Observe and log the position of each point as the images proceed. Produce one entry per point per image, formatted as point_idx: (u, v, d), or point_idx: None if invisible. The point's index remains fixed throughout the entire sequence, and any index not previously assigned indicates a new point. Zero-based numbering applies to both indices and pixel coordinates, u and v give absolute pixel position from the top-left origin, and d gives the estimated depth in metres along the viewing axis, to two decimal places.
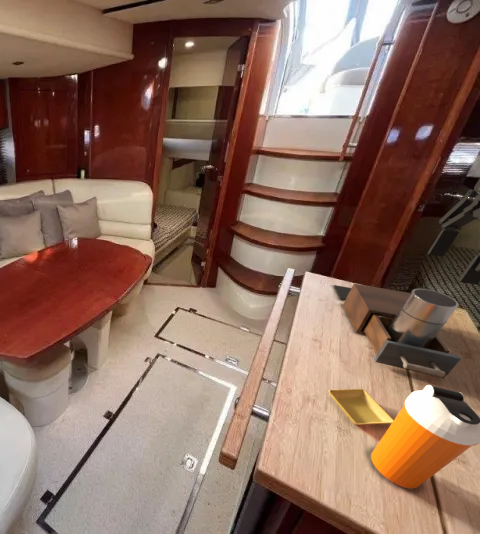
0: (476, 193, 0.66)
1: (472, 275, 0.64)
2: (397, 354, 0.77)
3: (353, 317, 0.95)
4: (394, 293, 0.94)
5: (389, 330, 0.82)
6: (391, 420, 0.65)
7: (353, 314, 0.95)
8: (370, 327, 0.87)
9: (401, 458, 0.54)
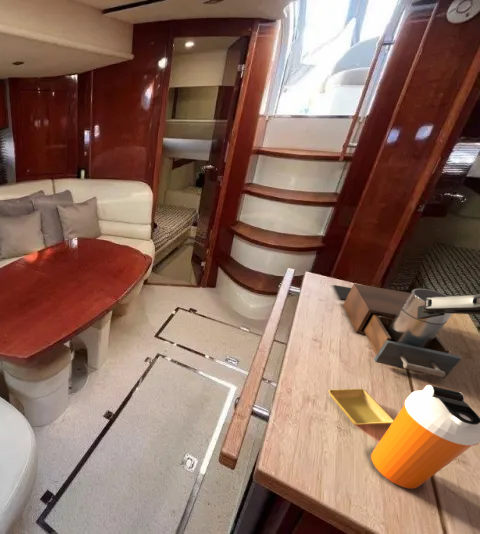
0: None
1: None
2: (397, 354, 0.77)
3: (353, 317, 0.95)
4: (394, 293, 0.94)
5: (389, 330, 0.82)
6: (391, 420, 0.65)
7: (353, 314, 0.95)
8: (370, 327, 0.87)
9: (401, 458, 0.54)
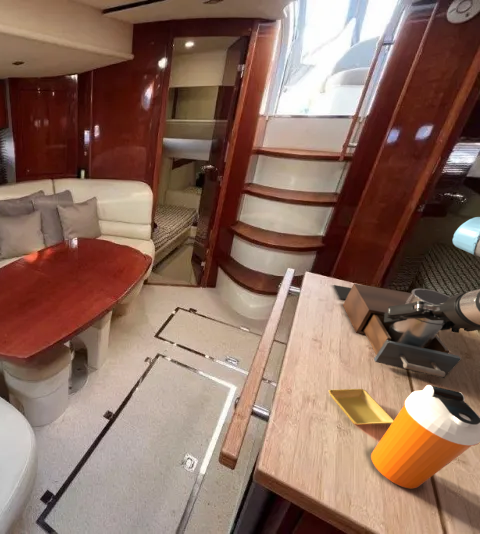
0: (425, 309, 0.69)
1: None
2: (397, 354, 0.77)
3: (353, 317, 0.95)
4: (394, 293, 0.94)
5: (389, 330, 0.82)
6: (391, 420, 0.65)
7: (353, 314, 0.95)
8: (370, 327, 0.87)
9: (401, 458, 0.54)
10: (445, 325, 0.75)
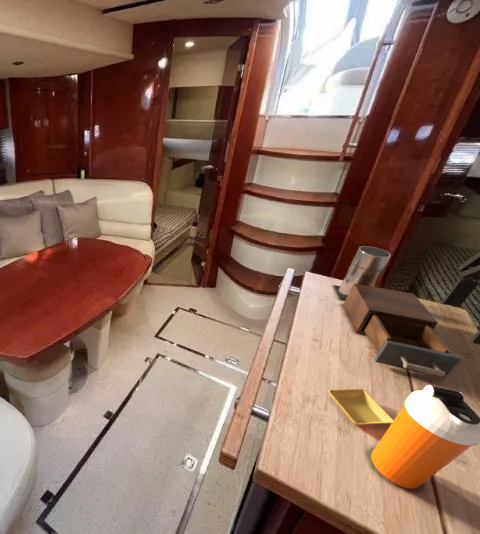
0: None
1: None
2: (397, 354, 0.77)
3: (353, 317, 0.95)
4: (394, 293, 0.94)
5: (344, 280, 1.07)
6: (391, 420, 0.65)
7: (353, 314, 0.95)
8: (370, 327, 0.87)
9: (401, 458, 0.54)
10: (472, 283, 0.65)
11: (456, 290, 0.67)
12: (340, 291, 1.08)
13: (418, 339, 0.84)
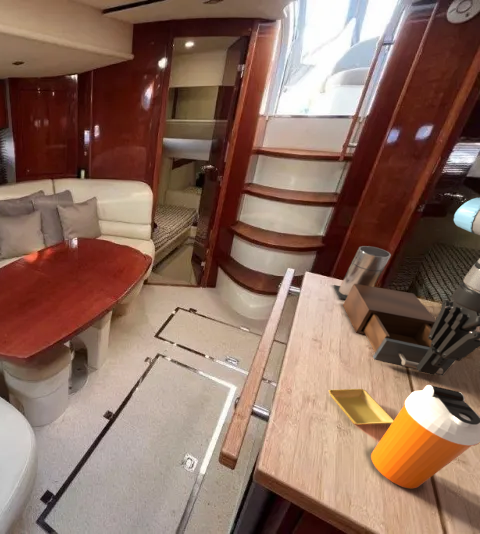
0: None
1: None
2: (396, 352, 0.78)
3: (353, 317, 0.95)
4: (394, 293, 0.94)
5: (344, 280, 1.07)
6: (391, 420, 0.65)
7: (353, 314, 0.95)
8: (369, 325, 0.88)
9: (401, 458, 0.54)
10: None
11: None
12: (340, 291, 1.08)
13: (416, 337, 0.85)
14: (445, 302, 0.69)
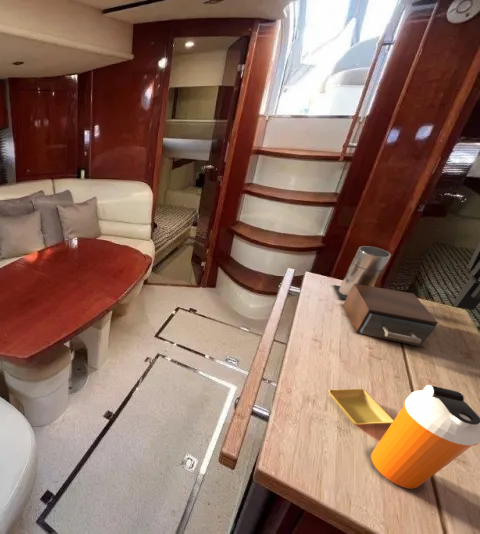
0: None
1: None
2: (380, 325, 0.87)
3: (353, 317, 0.95)
4: (394, 293, 0.94)
5: (344, 280, 1.07)
6: (391, 420, 0.65)
7: (353, 314, 0.95)
8: None
9: (401, 458, 0.54)
10: None
11: None
12: (340, 291, 1.08)
13: None
14: None
